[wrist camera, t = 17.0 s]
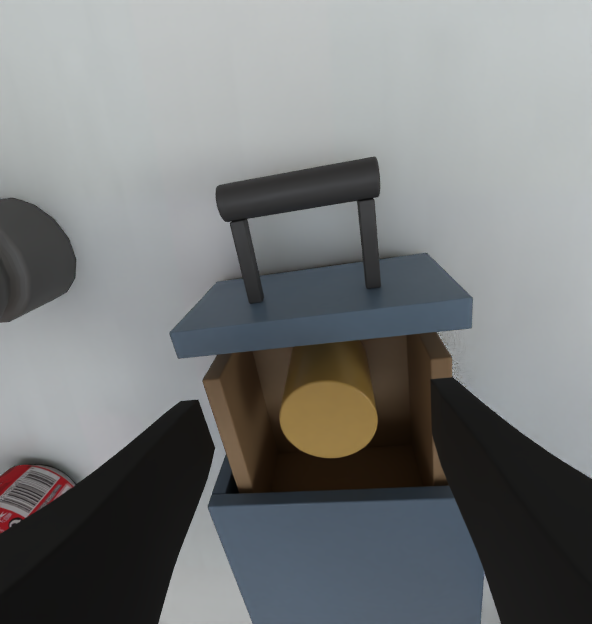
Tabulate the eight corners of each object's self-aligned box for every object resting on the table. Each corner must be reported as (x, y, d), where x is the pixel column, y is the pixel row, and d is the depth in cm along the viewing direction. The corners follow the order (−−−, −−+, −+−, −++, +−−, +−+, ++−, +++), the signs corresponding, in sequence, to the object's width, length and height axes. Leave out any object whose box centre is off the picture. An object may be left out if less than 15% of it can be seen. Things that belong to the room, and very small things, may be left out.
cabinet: (245, 399, 23) (206, 507, 16) (436, 384, 21) (490, 497, 14) (281, 530, 28) (264, 656, 21) (438, 527, 27) (478, 664, 19)
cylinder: (285, 330, 19) (270, 385, 14) (363, 322, 18) (373, 376, 14) (298, 393, 20) (288, 461, 16) (369, 387, 20) (381, 456, 15)
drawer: (191, 189, 17) (123, 203, 12) (424, 146, 15) (478, 138, 10) (262, 450, 24) (241, 540, 18) (431, 440, 22) (465, 536, 16)
